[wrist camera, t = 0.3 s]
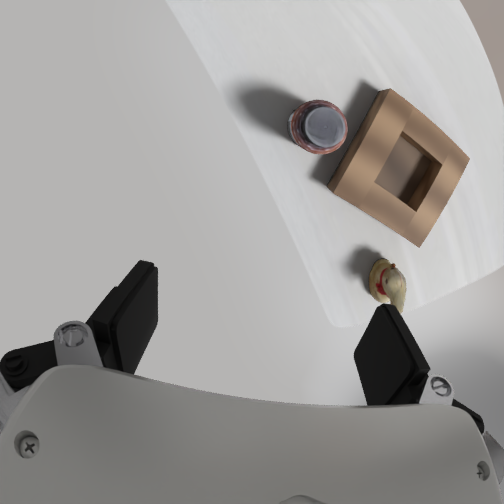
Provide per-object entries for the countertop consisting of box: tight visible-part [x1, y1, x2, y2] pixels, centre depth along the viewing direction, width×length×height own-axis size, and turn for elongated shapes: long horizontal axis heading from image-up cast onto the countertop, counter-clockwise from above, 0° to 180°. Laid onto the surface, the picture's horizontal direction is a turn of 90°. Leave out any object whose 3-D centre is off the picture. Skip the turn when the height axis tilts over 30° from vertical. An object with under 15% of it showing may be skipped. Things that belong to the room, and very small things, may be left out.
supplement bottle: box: [288, 100, 348, 154], centre depth 28 cm, size 6×6×11 cm
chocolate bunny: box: [369, 259, 406, 314], centre depth 38 cm, size 6×8×10 cm
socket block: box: [327, 88, 470, 248], centre depth 33 cm, size 16×16×4 cm
